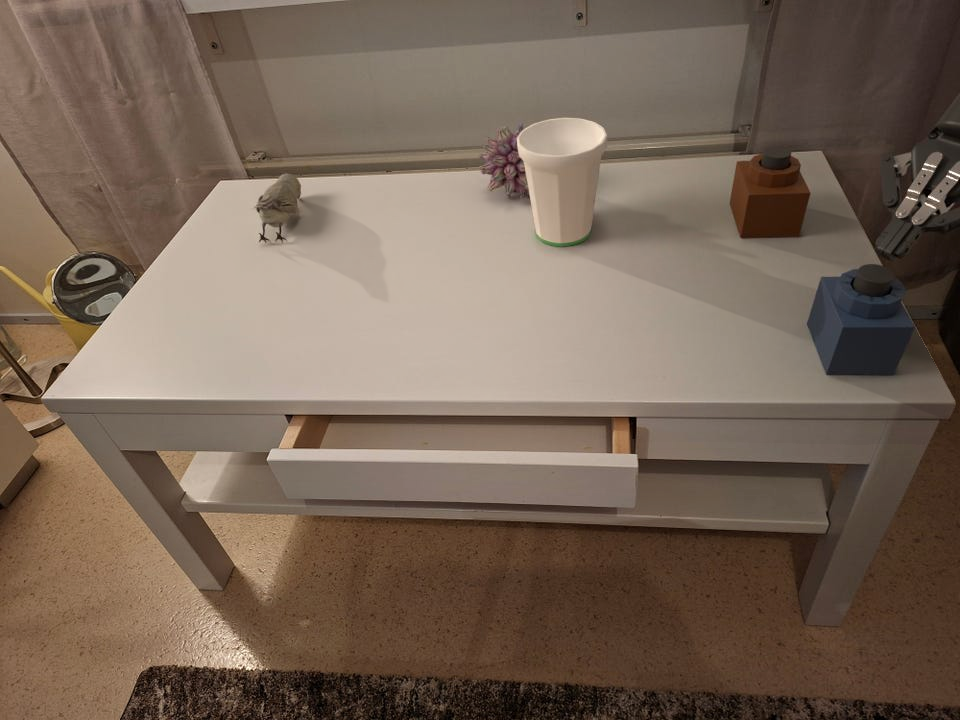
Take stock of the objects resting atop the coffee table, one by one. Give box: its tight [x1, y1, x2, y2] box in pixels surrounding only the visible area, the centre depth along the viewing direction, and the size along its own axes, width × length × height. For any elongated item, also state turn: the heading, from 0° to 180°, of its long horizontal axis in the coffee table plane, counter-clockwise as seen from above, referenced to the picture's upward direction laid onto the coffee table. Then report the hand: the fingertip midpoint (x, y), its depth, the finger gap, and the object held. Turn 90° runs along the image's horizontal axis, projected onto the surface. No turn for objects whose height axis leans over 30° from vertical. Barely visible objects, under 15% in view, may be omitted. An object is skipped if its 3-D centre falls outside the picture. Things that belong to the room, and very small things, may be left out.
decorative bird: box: [252, 172, 302, 245], centre depth 109 cm, size 5×16×8 cm, turn 177°
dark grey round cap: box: [853, 263, 895, 297], centre depth 70 cm, size 3×3×2 cm
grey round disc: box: [761, 145, 792, 170], centre depth 91 cm, size 4×4×2 cm
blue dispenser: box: [806, 268, 916, 376], centre depth 73 cm, size 9×7×9 cm
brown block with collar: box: [729, 152, 811, 239], centre depth 94 cm, size 10×8×9 cm
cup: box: [517, 117, 608, 247], centre depth 95 cm, size 12×12×15 cm
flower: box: [477, 122, 530, 199], centre depth 107 cm, size 12×12×12 cm
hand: (884, 256), depth 68 cm, fingers closed
